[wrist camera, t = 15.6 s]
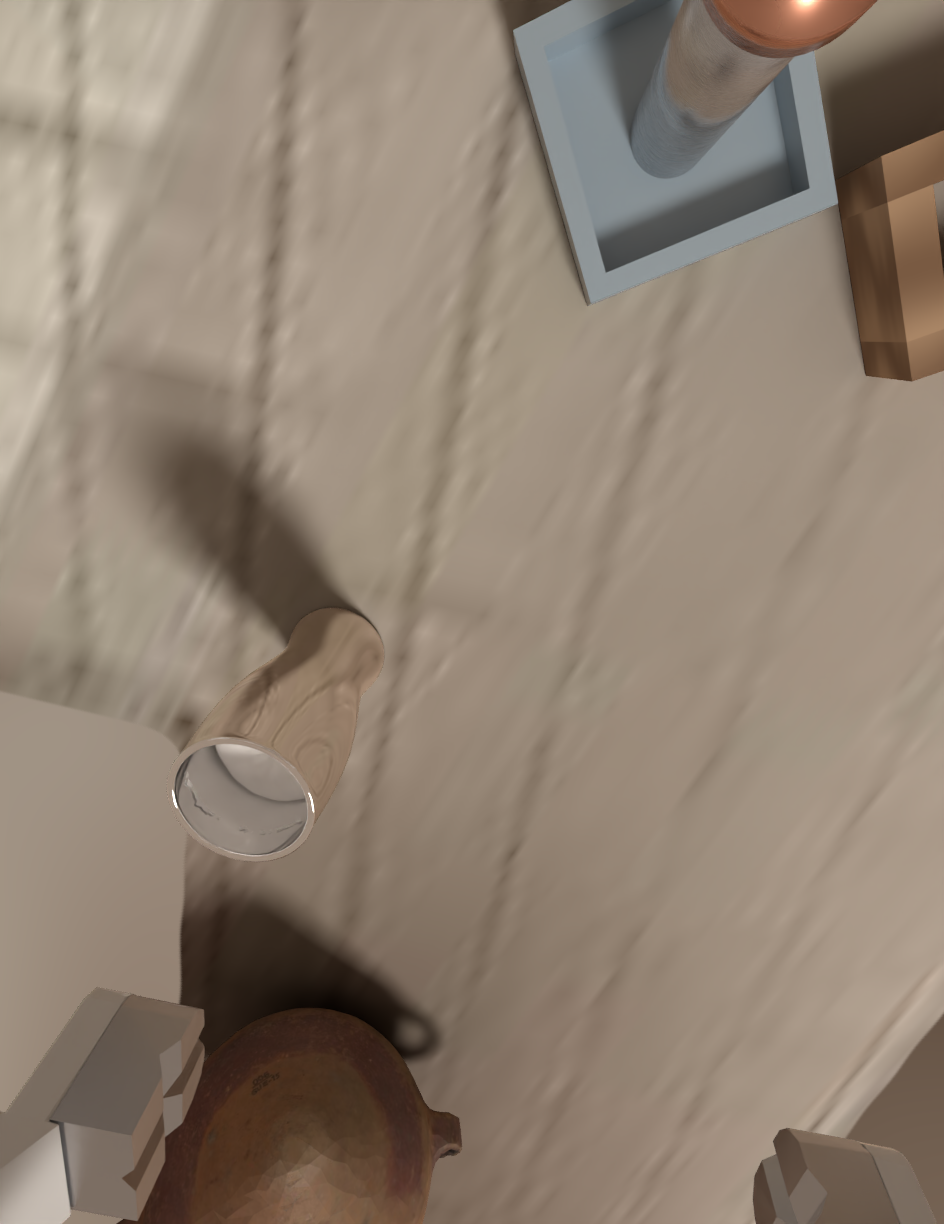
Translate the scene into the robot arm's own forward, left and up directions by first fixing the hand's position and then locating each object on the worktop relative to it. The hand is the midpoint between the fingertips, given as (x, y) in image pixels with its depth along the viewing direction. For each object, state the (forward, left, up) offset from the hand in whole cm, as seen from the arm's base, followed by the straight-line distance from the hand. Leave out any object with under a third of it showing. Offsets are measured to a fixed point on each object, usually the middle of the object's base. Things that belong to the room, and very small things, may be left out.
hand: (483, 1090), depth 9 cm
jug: (+42, -33, -31) cm, 62 cm away
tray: (-15, +12, -31) cm, 37 cm away
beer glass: (+4, -14, -31) cm, 35 cm away
